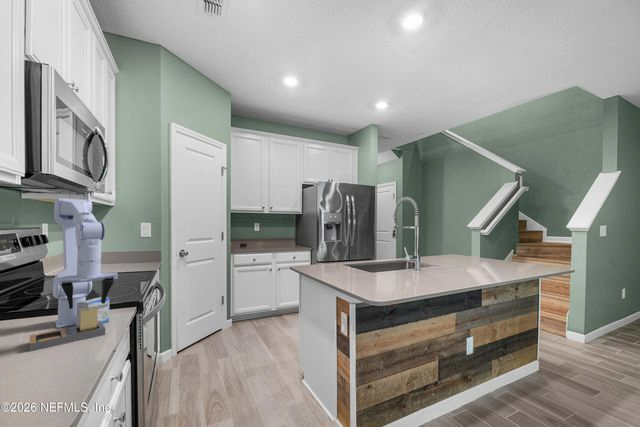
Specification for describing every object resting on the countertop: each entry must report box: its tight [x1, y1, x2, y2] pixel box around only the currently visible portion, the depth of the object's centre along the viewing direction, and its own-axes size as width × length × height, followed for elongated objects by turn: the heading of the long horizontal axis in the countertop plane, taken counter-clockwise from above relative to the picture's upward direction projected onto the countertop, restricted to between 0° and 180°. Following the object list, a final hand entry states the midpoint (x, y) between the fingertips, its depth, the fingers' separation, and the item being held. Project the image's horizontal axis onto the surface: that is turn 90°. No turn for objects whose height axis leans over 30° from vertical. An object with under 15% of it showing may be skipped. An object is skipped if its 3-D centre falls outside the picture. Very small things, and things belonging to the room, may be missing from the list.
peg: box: [79, 306, 98, 332], centre depth 88 cm, size 4×4×8 cm
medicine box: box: [76, 296, 110, 327], centre depth 97 cm, size 8×4×9 cm, turn 168°
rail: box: [28, 322, 106, 352], centre depth 85 cm, size 8×16×2 cm, turn 136°
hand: (87, 305), depth 87 cm, fingers open, 7 cm apart
